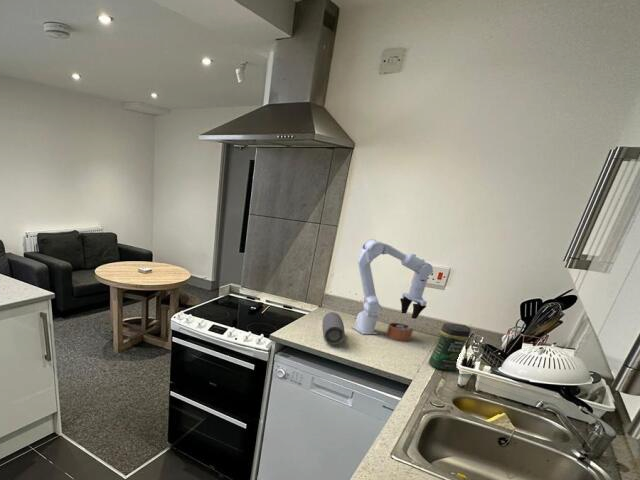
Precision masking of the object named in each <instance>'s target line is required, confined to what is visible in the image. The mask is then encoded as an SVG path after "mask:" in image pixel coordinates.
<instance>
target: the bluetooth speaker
mask: <svg viewBox="0 0 640 480" xmlns="http://www.w3.org/2000/svg"><path fill="white" fill-rule="evenodd" d="M321 327H322V334H323V337H324V340H325V341H326V342H327V343H328V344H329V345H338V344H341V343H342V342H343V341H344V340H345V335H346V331H345V325H344V322H343V319H342V317H341V316H340V314H339V313H337V312H335V311H331V312H328V313H326V314H325V315H324V316H323V317H322V325H321Z"/></svg>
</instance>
